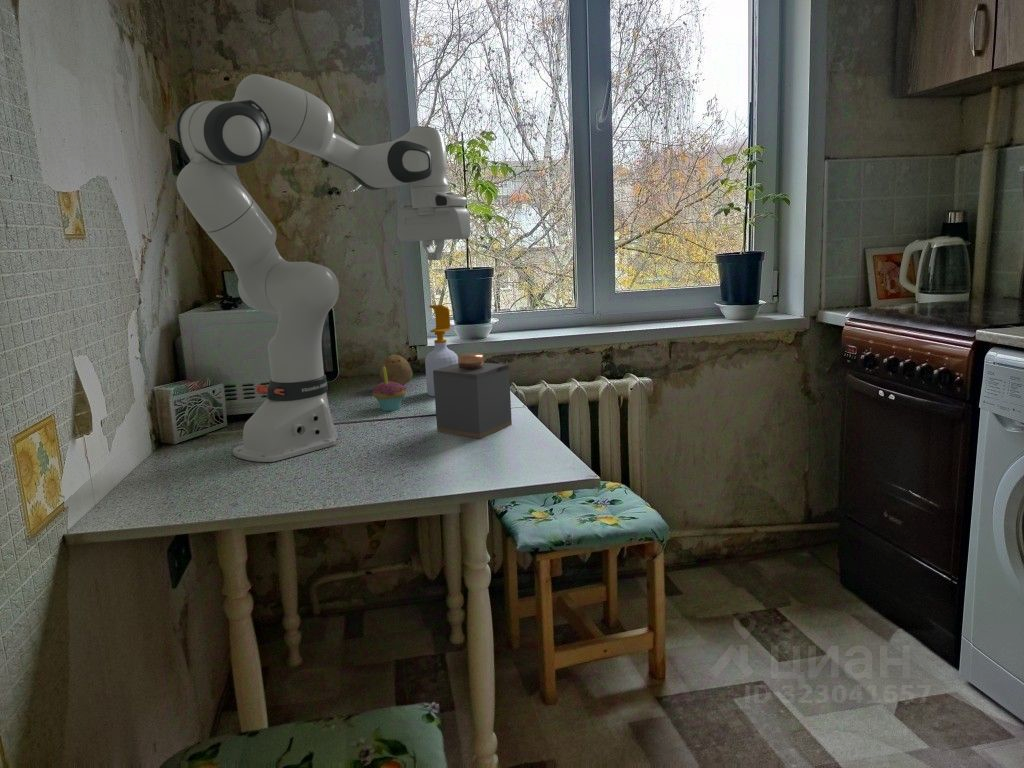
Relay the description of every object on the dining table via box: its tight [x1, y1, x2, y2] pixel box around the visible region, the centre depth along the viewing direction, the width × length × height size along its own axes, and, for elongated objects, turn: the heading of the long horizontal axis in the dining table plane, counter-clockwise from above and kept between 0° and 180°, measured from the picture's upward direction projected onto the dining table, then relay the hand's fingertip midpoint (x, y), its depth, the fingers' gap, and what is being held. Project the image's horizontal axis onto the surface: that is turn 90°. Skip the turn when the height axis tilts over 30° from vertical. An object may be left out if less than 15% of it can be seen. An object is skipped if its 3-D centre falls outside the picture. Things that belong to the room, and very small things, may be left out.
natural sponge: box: [379, 354, 414, 387], centre depth 202 cm, size 9×9×10 cm
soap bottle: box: [424, 304, 458, 398], centre depth 192 cm, size 9×9×25 cm
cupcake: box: [372, 364, 407, 412], centre depth 179 cm, size 9×8×12 cm
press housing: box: [433, 362, 513, 439], centre depth 158 cm, size 12×12×14 cm
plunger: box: [457, 352, 484, 369], centre depth 157 cm, size 10×10×15 cm
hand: (434, 260), depth 169 cm, fingers closed
